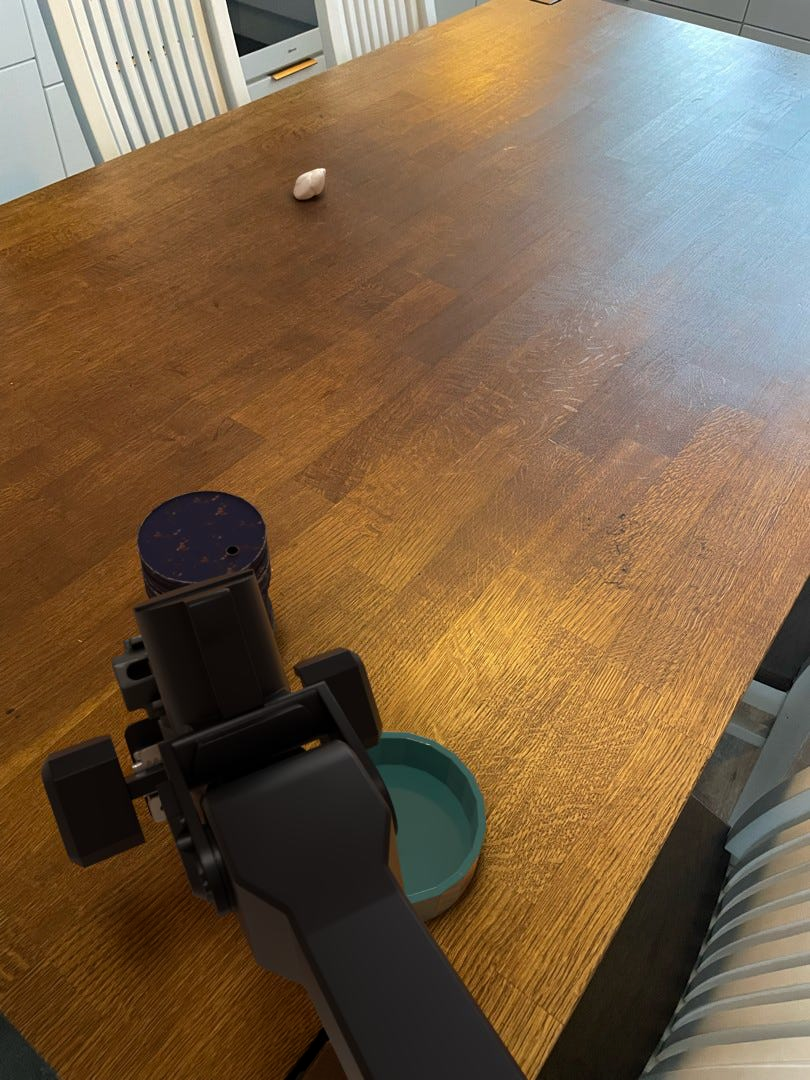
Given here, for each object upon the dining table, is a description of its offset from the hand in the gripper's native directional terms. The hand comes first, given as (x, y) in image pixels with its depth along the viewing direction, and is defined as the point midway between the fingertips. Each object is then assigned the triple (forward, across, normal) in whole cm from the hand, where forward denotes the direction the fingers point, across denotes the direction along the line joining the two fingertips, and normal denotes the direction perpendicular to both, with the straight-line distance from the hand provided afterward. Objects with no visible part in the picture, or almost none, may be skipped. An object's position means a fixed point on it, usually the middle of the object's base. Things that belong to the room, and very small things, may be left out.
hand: (199, 724), depth 59 cm
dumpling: (+72, -46, -56) cm, 103 cm away
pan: (+3, -11, +14) cm, 18 cm away
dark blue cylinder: (+19, -5, -1) cm, 19 cm away
